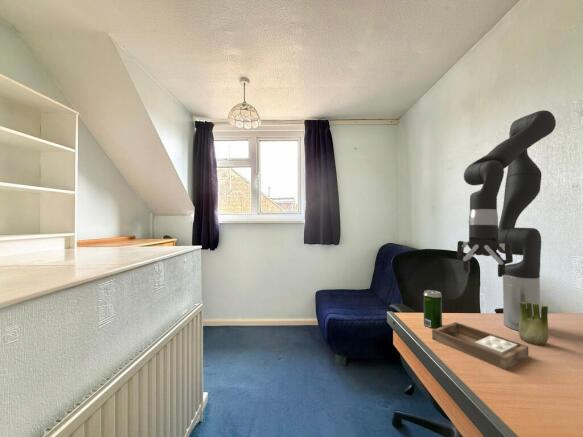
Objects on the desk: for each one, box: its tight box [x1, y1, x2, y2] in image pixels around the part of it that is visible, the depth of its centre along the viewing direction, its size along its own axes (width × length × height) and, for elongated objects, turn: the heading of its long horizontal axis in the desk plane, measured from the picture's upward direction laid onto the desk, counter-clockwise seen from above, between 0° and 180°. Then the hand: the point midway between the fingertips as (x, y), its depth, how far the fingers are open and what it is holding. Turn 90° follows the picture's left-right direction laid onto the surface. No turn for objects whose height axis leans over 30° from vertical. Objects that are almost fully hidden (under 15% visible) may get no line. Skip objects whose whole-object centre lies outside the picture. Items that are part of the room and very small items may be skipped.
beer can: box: [423, 289, 443, 330], centre depth 86 cm, size 5×5×12 cm
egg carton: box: [475, 335, 517, 355], centre depth 67 cm, size 8×6×4 cm
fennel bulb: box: [518, 302, 550, 347], centre depth 74 cm, size 6×5×12 cm
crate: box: [431, 321, 530, 371], centre depth 71 cm, size 12×18×4 cm, turn 28°
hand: (483, 274), depth 82 cm, fingers open, 8 cm apart
